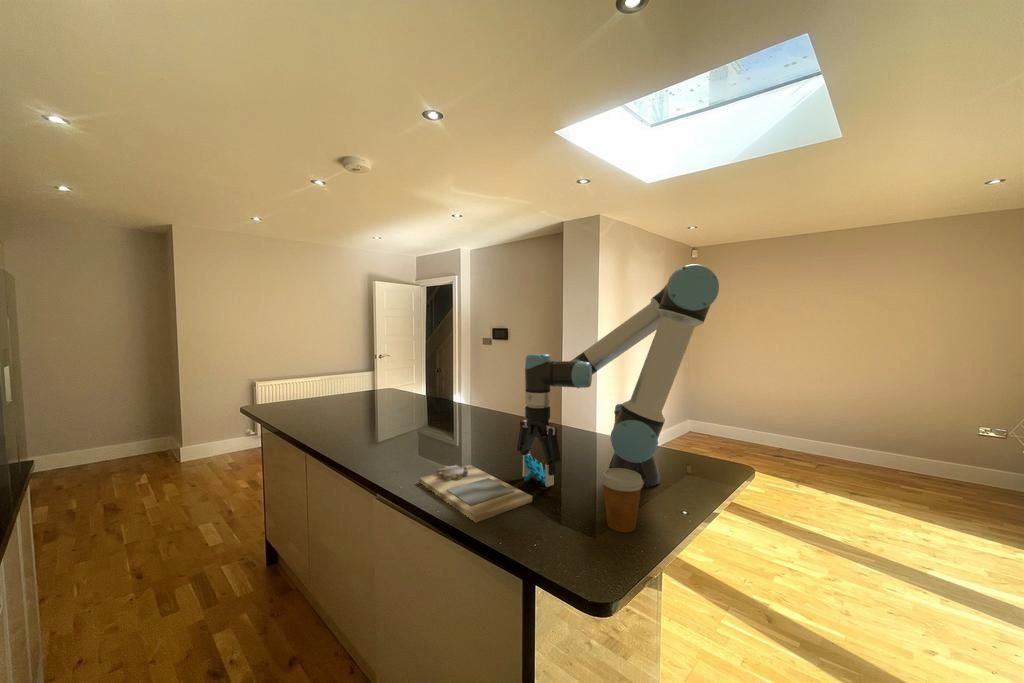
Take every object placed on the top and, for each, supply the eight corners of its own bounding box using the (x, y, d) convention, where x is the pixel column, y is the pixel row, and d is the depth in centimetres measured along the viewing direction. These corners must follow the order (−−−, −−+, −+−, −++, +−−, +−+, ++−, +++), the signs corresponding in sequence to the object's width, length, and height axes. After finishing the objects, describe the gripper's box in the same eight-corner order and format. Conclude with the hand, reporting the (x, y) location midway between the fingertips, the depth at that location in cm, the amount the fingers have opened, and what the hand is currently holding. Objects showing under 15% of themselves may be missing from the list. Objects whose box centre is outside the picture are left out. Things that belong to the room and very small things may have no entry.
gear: (546, 484, 106) (523, 456, 109) (531, 498, 107) (509, 469, 110) (555, 476, 117) (533, 450, 120) (541, 488, 118) (520, 463, 121)
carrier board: (532, 501, 100) (532, 490, 100) (475, 522, 89) (475, 510, 89) (469, 469, 124) (469, 459, 124) (418, 482, 113) (418, 472, 112)
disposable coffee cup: (651, 533, 85) (652, 480, 85) (614, 539, 82) (615, 484, 82) (627, 513, 94) (628, 465, 94) (592, 518, 91) (593, 469, 91)
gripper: (505, 402, 119) (505, 472, 120) (555, 413, 102) (555, 495, 103) (523, 399, 124) (523, 467, 124) (574, 409, 107) (573, 488, 107)
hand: (537, 480), depth 113 cm, fingers closed on gear, 9 cm apart
